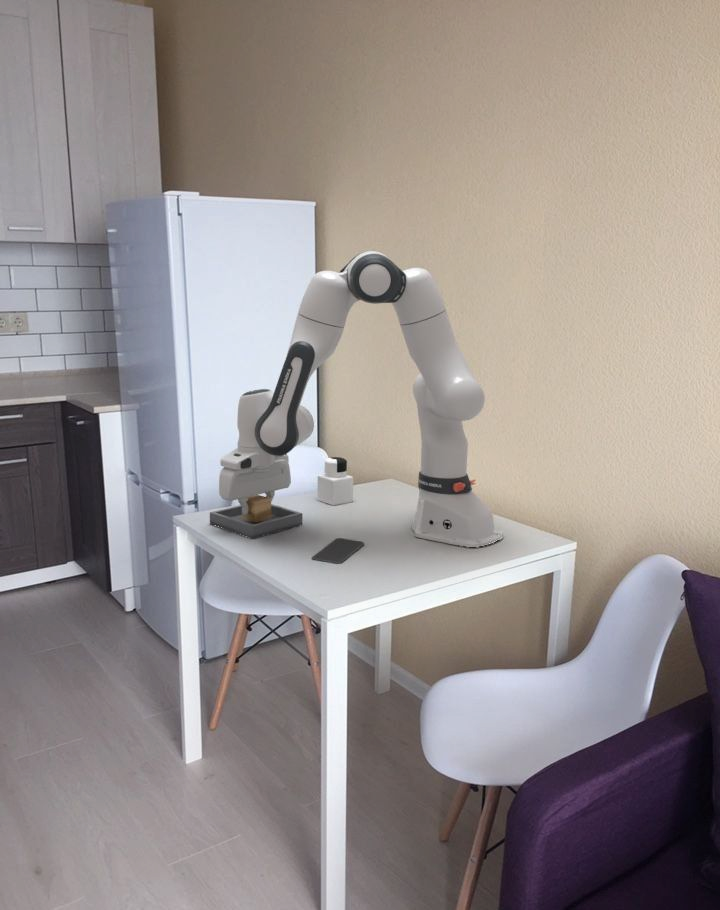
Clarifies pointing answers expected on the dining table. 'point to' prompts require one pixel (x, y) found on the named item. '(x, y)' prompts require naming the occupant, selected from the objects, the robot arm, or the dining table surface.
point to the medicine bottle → (335, 482)
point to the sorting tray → (236, 523)
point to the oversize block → (258, 508)
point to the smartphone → (338, 551)
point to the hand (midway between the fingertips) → (256, 511)
